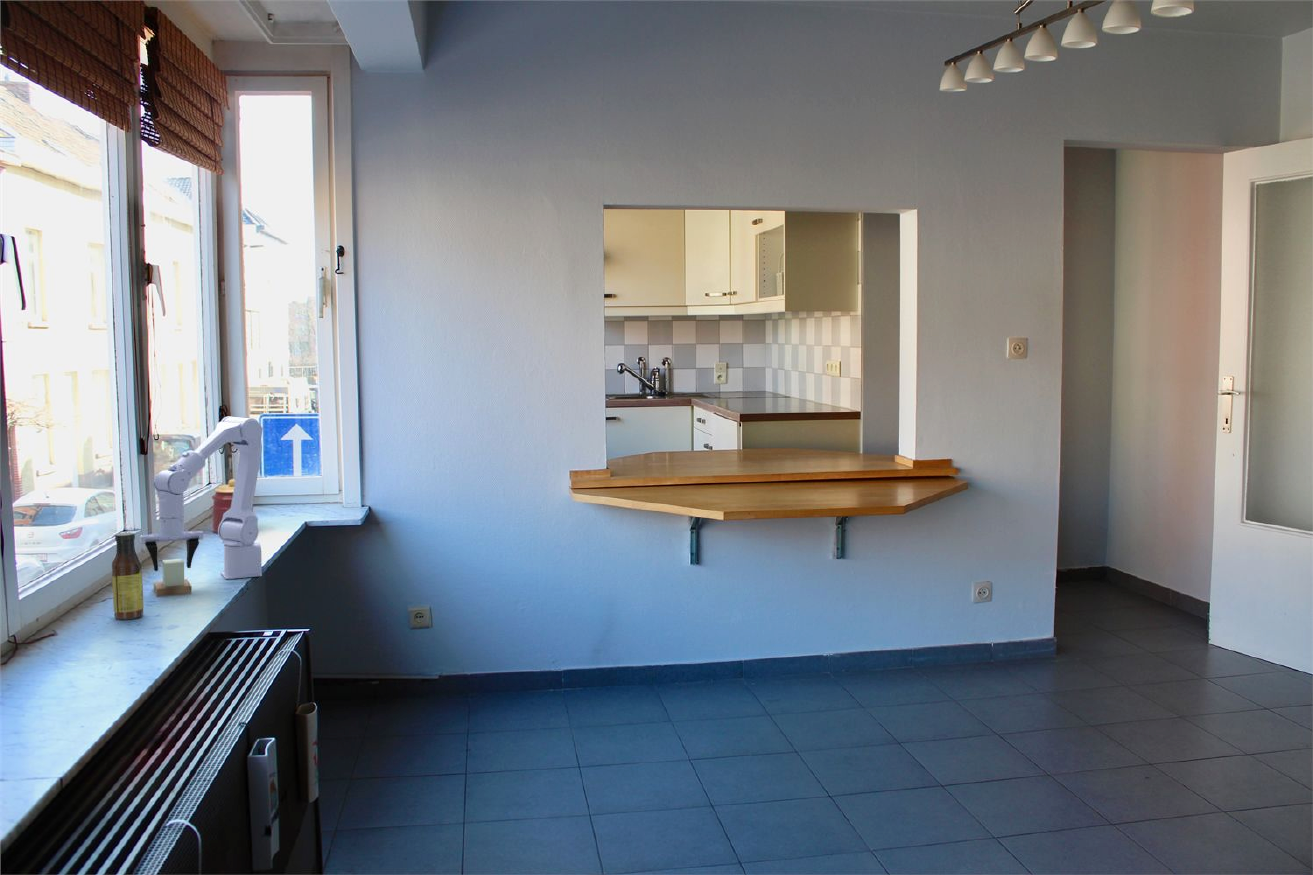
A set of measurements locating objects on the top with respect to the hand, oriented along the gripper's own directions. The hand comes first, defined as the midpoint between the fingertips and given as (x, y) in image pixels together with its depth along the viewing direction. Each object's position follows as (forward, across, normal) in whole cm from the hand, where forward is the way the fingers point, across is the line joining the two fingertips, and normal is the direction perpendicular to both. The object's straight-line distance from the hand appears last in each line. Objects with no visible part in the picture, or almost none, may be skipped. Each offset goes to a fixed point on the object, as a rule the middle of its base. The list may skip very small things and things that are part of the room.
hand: (172, 568), depth 260 cm
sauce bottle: (+6, -12, -21) cm, 25 cm away
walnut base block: (+6, 0, 0) cm, 7 cm away
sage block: (+4, 0, 0) cm, 4 cm away
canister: (+6, +28, +78) cm, 83 cm away
